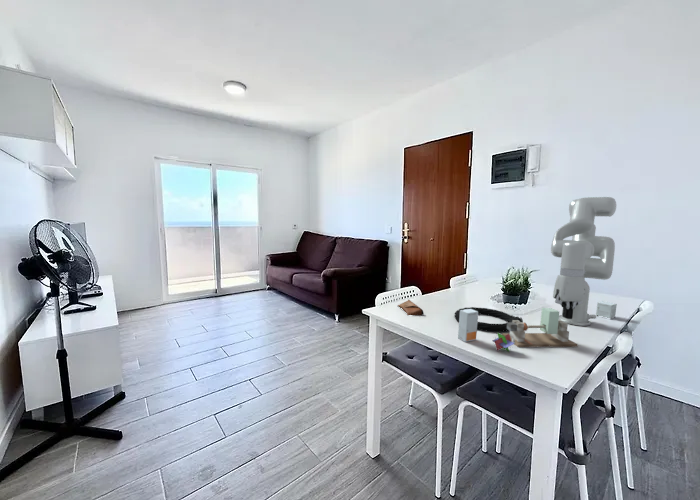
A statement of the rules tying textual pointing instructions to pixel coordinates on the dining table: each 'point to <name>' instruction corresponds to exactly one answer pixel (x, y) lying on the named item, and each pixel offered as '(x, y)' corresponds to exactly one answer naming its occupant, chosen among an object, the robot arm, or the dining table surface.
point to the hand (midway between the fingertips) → (567, 317)
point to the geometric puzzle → (503, 341)
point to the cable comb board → (539, 335)
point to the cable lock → (495, 314)
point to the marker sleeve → (549, 320)
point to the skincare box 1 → (468, 325)
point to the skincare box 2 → (606, 309)
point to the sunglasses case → (411, 308)
